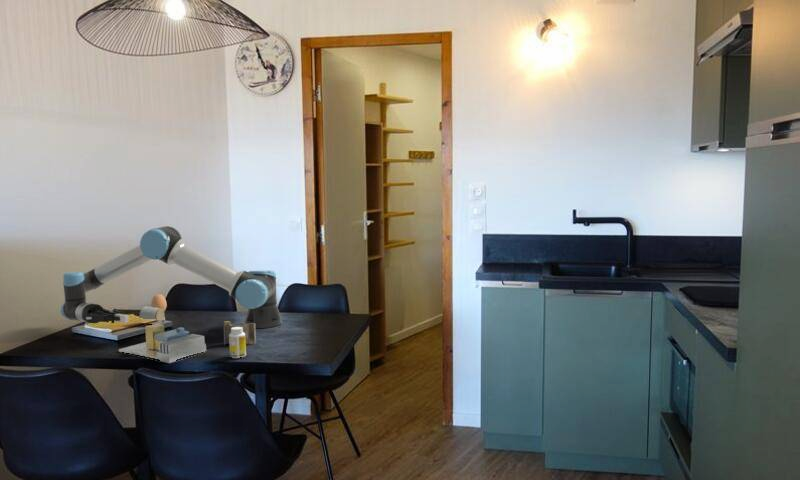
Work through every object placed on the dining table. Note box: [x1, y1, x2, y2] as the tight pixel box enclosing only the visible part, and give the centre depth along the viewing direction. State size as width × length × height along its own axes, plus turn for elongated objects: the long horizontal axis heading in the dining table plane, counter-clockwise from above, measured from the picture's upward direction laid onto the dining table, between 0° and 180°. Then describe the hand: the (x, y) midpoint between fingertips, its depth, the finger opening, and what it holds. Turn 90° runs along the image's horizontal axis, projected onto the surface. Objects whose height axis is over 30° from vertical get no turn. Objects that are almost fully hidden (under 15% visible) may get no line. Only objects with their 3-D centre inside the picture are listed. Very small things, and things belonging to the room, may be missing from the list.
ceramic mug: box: [138, 306, 166, 321], centre depth 283 cm, size 11×8×8 cm
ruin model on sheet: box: [223, 320, 257, 346], centre depth 248 cm, size 11×3×10 cm, turn 96°
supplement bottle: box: [228, 327, 247, 359], centre depth 230 cm, size 6×6×10 cm
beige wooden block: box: [144, 323, 166, 350], centre depth 238 cm, size 11×5×8 cm, turn 57°
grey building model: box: [118, 326, 207, 364], centre depth 238 cm, size 28×16×8 cm, turn 57°
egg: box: [150, 293, 168, 312], centre depth 302 cm, size 7×7×9 cm
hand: (127, 319), depth 248 cm, fingers closed
